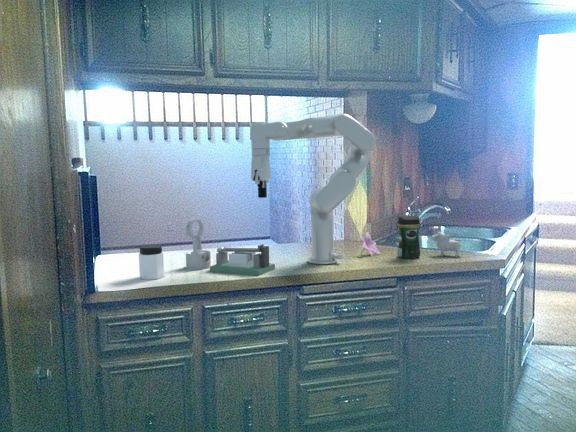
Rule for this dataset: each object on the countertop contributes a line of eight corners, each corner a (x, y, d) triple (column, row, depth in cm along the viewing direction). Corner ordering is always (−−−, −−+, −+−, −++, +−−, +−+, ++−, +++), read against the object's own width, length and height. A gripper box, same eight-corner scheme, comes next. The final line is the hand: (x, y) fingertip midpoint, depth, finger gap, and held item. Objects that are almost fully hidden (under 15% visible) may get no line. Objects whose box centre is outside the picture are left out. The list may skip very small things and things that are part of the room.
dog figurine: (432, 253, 246) (432, 230, 244) (461, 255, 241) (461, 231, 240) (430, 255, 241) (431, 232, 240) (460, 257, 236) (461, 233, 235)
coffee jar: (416, 255, 242) (416, 214, 240) (422, 258, 234) (422, 216, 232) (395, 256, 241) (395, 214, 239) (400, 259, 233) (401, 216, 231)
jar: (167, 277, 203) (166, 246, 202) (147, 281, 198) (146, 249, 197) (156, 274, 210) (155, 243, 209) (136, 277, 205) (135, 246, 203)
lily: (358, 259, 239) (368, 241, 236) (347, 245, 249) (356, 228, 246) (378, 265, 245) (388, 247, 242) (367, 251, 255) (376, 234, 252)
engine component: (215, 266, 223) (199, 264, 229) (214, 217, 220) (198, 216, 227) (195, 271, 214) (179, 268, 221) (194, 220, 212) (177, 218, 218)
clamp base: (274, 268, 217) (274, 244, 216) (259, 275, 204) (258, 249, 203) (227, 264, 226) (227, 241, 225) (209, 271, 213) (209, 246, 212)
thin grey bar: (264, 251, 213) (264, 244, 212) (259, 253, 209) (259, 246, 208) (222, 250, 221) (222, 243, 220) (217, 252, 217) (216, 245, 216)
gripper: (260, 153, 230) (262, 196, 232) (244, 153, 216) (246, 199, 218) (276, 152, 227) (277, 196, 229) (261, 153, 213) (263, 199, 215)
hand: (262, 197), depth 224 cm, fingers closed
